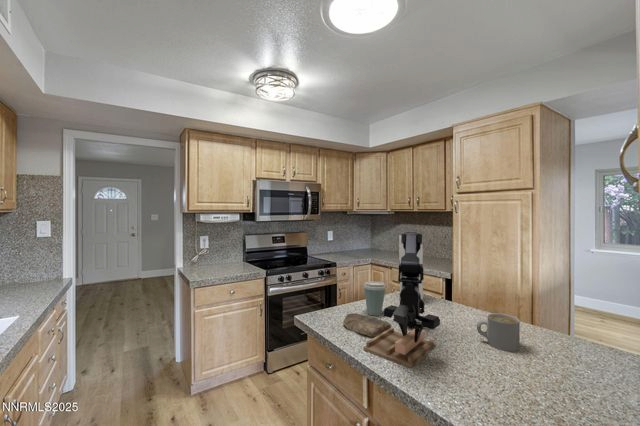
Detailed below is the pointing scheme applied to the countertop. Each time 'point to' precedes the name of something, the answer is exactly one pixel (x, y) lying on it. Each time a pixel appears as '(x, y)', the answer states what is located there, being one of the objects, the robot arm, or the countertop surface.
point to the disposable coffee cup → (374, 297)
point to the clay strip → (408, 342)
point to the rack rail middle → (390, 349)
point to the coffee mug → (501, 331)
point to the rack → (397, 357)
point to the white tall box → (420, 256)
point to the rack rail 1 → (379, 337)
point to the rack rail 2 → (420, 351)
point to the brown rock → (365, 324)
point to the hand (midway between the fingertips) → (410, 340)
